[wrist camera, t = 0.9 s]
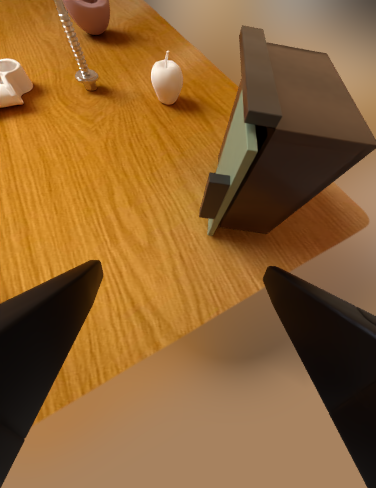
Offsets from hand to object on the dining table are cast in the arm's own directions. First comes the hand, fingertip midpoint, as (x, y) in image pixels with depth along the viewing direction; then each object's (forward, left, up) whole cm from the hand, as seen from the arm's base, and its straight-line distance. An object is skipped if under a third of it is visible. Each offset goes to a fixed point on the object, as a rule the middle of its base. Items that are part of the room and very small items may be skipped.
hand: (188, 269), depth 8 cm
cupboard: (+6, -19, -13) cm, 24 cm away
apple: (+35, -28, -14) cm, 47 cm away
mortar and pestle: (+75, -33, -14) cm, 83 cm away
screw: (+49, -16, -14) cm, 53 cm away
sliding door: (+7, -12, -13) cm, 19 cm away
